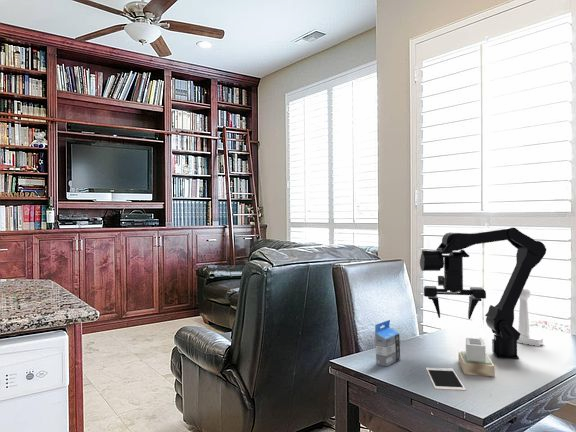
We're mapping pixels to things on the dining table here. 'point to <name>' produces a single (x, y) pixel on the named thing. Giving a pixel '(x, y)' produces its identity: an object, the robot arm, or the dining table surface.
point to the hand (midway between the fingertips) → (454, 318)
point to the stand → (476, 366)
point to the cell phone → (445, 379)
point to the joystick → (526, 322)
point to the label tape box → (386, 344)
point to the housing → (475, 349)
